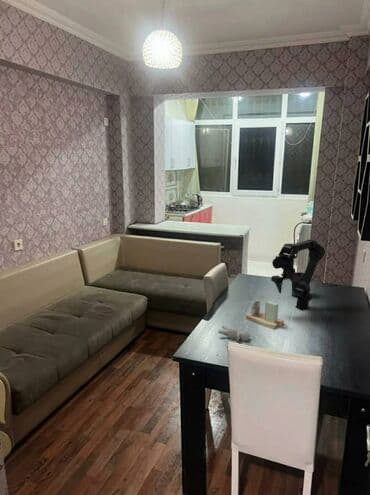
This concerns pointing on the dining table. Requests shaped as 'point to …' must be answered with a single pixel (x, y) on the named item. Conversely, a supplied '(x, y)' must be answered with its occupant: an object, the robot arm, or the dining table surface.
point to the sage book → (271, 311)
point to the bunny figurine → (235, 333)
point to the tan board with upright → (261, 316)
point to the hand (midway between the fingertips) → (286, 292)
